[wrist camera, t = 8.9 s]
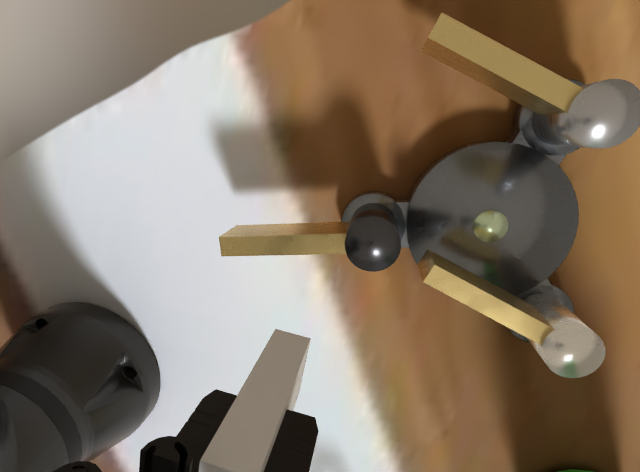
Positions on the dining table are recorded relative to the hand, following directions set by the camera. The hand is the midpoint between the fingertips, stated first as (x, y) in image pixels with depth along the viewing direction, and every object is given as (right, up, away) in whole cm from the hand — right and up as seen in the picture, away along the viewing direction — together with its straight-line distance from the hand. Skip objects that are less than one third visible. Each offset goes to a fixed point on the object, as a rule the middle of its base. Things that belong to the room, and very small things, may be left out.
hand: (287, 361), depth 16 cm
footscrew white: (+15, +1, +14) cm, 20 cm away
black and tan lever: (+1, +6, +14) cm, 16 cm away
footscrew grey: (+14, +15, +10) cm, 23 cm away
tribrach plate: (+15, +8, +13) cm, 22 cm away
